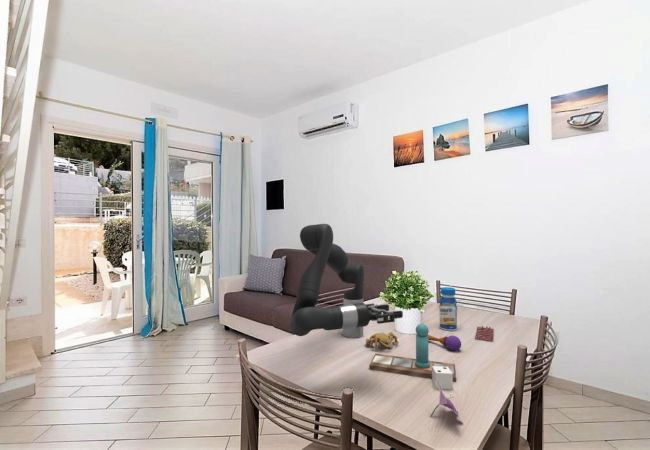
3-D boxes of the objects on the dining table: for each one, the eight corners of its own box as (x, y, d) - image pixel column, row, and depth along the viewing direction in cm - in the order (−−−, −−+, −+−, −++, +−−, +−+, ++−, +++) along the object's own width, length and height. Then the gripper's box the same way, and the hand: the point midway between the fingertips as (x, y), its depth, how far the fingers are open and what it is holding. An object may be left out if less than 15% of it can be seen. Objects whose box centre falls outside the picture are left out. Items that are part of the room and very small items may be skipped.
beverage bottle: (460, 329, 158) (460, 288, 158) (450, 332, 153) (450, 290, 154) (446, 324, 165) (445, 286, 165) (435, 327, 160) (435, 287, 161)
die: (436, 389, 100) (436, 372, 100) (432, 381, 105) (432, 365, 105) (452, 389, 99) (452, 373, 99) (447, 382, 104) (447, 366, 104)
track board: (369, 369, 114) (369, 364, 114) (375, 357, 124) (375, 352, 124) (456, 382, 104) (456, 377, 104) (454, 368, 114) (454, 363, 114)
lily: (455, 442, 77) (473, 405, 77) (411, 408, 83) (428, 374, 84) (459, 430, 87) (475, 398, 87) (419, 401, 93) (435, 371, 94)
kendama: (423, 328, 147) (464, 337, 131) (422, 342, 146) (463, 352, 130) (415, 328, 144) (456, 337, 128) (414, 342, 143) (455, 352, 127)
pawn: (414, 367, 111) (413, 325, 111) (415, 361, 116) (415, 321, 116) (429, 369, 109) (429, 326, 110) (430, 363, 114) (430, 322, 114)
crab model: (376, 338, 147) (376, 326, 147) (402, 344, 139) (402, 331, 139) (358, 347, 134) (358, 334, 135) (385, 355, 127) (385, 341, 127)
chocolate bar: (493, 331, 157) (493, 327, 157) (493, 343, 140) (493, 338, 140) (477, 328, 160) (477, 324, 160) (475, 340, 144) (474, 336, 144)
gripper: (361, 310, 97) (407, 304, 103) (343, 299, 110) (384, 295, 116) (361, 334, 97) (407, 328, 103) (343, 321, 110) (384, 315, 116)
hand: (395, 310), depth 109 cm, fingers open, 8 cm apart
